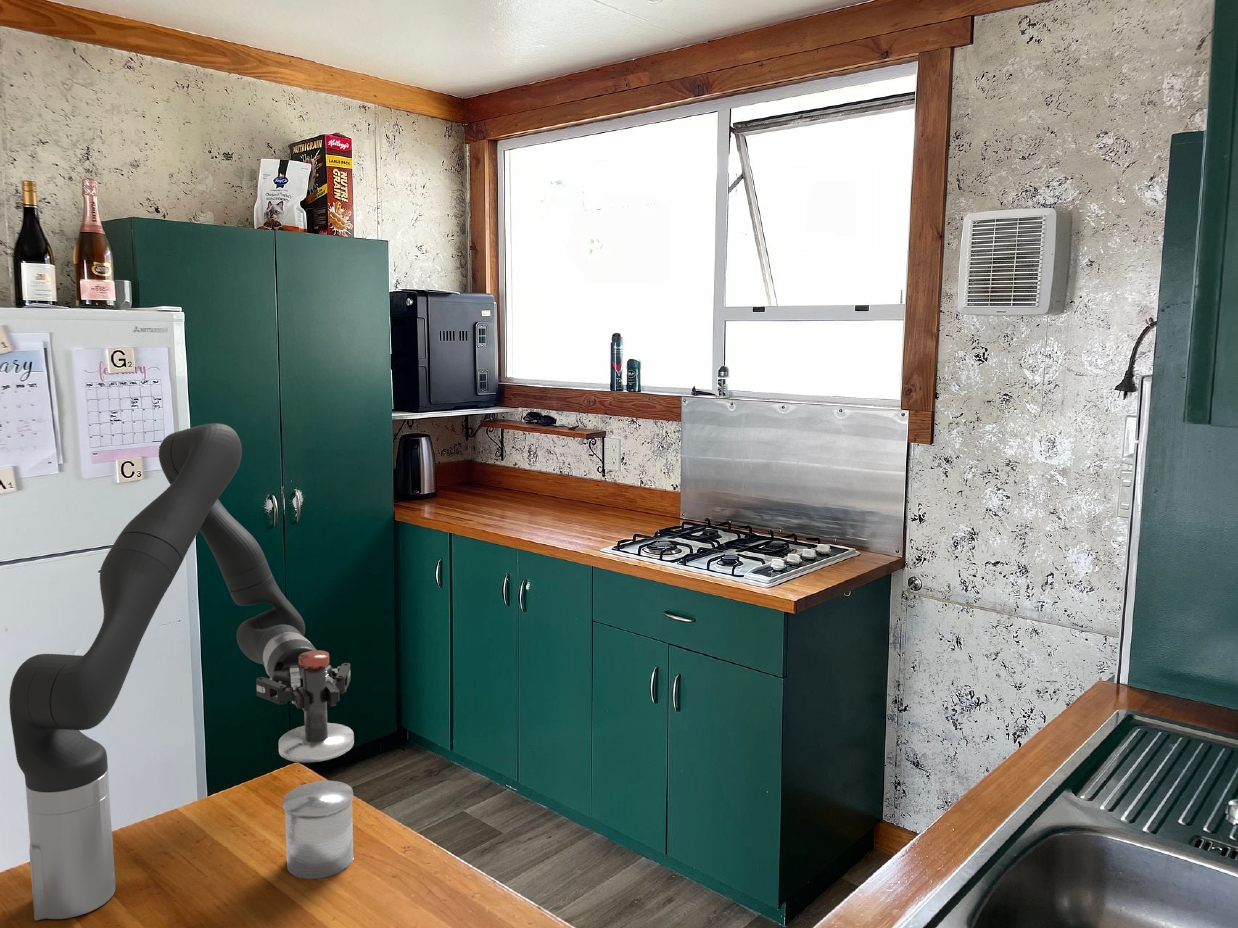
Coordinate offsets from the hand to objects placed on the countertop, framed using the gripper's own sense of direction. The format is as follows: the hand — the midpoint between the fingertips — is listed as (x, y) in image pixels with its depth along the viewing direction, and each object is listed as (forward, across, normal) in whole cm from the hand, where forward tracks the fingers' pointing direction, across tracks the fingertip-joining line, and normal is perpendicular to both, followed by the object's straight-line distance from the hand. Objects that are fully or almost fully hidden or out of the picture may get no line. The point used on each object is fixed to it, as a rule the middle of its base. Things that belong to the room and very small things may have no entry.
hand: (320, 701), depth 127 cm
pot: (-3, 0, +25) cm, 25 cm away
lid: (-3, 0, +8) cm, 8 cm away
